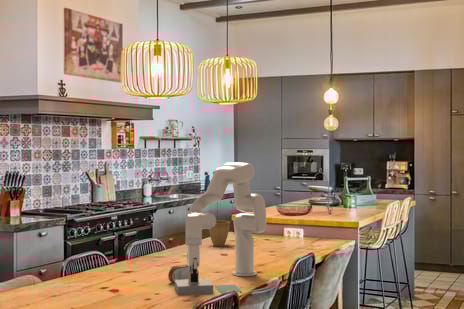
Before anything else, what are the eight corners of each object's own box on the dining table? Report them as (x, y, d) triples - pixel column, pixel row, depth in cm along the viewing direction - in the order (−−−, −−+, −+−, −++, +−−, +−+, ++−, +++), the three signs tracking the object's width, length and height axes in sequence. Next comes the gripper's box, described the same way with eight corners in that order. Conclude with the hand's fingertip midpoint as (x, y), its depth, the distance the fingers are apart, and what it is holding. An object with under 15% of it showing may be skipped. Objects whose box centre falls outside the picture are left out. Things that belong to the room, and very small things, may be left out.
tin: (192, 279, 305) (192, 263, 305) (196, 280, 302) (196, 263, 302) (167, 284, 295) (167, 266, 295) (171, 285, 292) (171, 267, 292)
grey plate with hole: (174, 288, 286) (174, 279, 286) (208, 286, 289) (208, 278, 289) (177, 295, 272) (177, 286, 272) (213, 294, 275) (213, 285, 275)
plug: (188, 289, 282) (188, 269, 282) (197, 288, 283) (197, 269, 283) (189, 291, 278) (189, 271, 278) (198, 290, 279) (198, 271, 279)
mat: (214, 286, 290) (214, 285, 290) (235, 285, 291) (235, 284, 291) (219, 293, 276) (219, 292, 276) (241, 292, 278) (241, 291, 278)
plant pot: (226, 247, 400) (226, 223, 400) (204, 246, 405) (204, 222, 405) (232, 244, 415) (233, 220, 414) (212, 243, 419) (212, 220, 419)
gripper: (183, 238, 288) (183, 277, 288) (187, 244, 271) (187, 285, 272) (199, 238, 289) (199, 277, 289) (204, 244, 273) (204, 284, 273)
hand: (193, 280), depth 280 cm, fingers closed on plug, 4 cm apart
